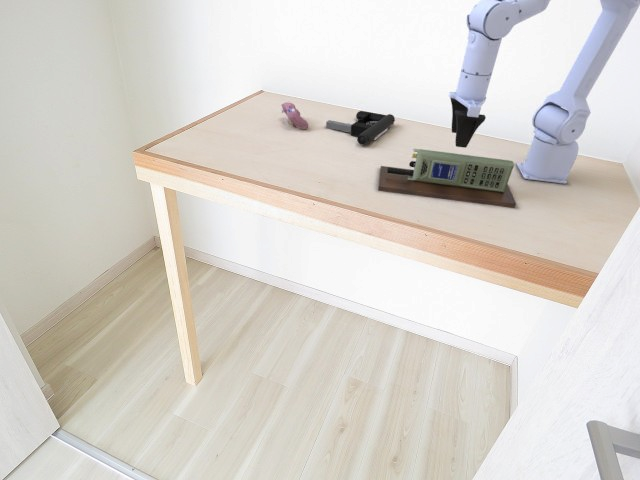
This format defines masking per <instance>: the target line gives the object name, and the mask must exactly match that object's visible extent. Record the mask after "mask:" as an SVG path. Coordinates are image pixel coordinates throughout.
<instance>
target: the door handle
mask: <svg viewBox="0 0 640 480" xmlns="http://www.w3.org/2000/svg"><path fill="white" fill-rule="evenodd" d="M355 117H356V119H357V121H355V122H354V123H352V124H351V123H347V122H341V121H335V120H331V119H329V120H326V122H325V127H326V129H331V130H336V131H340V132H344V133H345V132H346V133H350V136H351V137H356V138H357V139H356V141H357V143H358V144H359V145H364V146H365V145H367V144H368V143H370V142H372V141H373V140H374V141H376V140H377V139H379V138H380V137H381V136H382V135H384V134H385V133H386V132H387V131H388V128H389V127H391V126H392V125H394V124H395V122H396V118H395V116H394V115H393V114H391V113H389V114H384V113H383V114H382V113H377V112H370V111H366V110H359V111H358V112H357V113H356V114H355ZM368 123H369V124H368Z"/></svg>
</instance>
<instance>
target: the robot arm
mask: <svg viewBox="0 0 640 480" xmlns="http://www.w3.org/2000/svg"><path fill="white" fill-rule="evenodd" d="M550 1H551V0H479V1H478V2H476V4H475V5H474V6H473V7H472V9H471V11H470V13H469V14H467V15H466V27H467V30H468V34H467V44H466V48H465V51H464V55H463V59H462V65H461V69H460V73H459V77H458V81H457V84H456V90H455V91H449V92H448V97H449V99H450V104H451V114H452V115H451V118H452V119H451V133H453V134H455V147H457V148H465V149H467V147H468V146H469V144H470V142H471V140H472V138H473V136H474V134H475V133H476V131H477V130H478V128H480V126H481V125H482V124H483V123H484V122H485V121H486V115H485V114H480V112H481V109H482V106H483V105H484V104H485V102H486V100H487V93H488V89H489V86H490V81H491V79H492V75H493V72H494V68H495V64H496V61H497V58H498V54H499V50H500V47H501V44H502V40H503V39H504V38H505V37H507V36H508V35H509V34H510V32H511V31H512V30H513V28H514V27H515V26H516V25H518V24H520V23H522V22H525V21H526V20H529V19H530V18H533V17H534V16H536V15H538V14H541V13H543V12H544V11H545V10H546V9H547V8H548V6H549V4H550ZM599 2H600V6H601V12H600V14H599V16H598V18H597V20H596V22H595V24H594V26H593V27H592V29H591V30H590V33H589V34H588V36H587V38H586V40H585V42H584V44H583V46H582V48H581V49H580V51H579V53H578V55H577V57H576V59H575V61H574V62H573V64H572V66H571V68H570V70H569V72H568V74H567V75H566V77H565V79H564V81H563V83H562V85H561V87H560V88H559V90H557V91H554V92H553V93H551V94H548V95H547V96H546V97H545V99H544V101H543V103H542V104H541V105H540V106H539V107H538V108H537V109H536V111H535V112H534V113H533V116H532V119H531V123H532V126H533V128H534V129H533V134H534V136H533V138H532V141H531V143H530V146H529V149H528V151H527V154H526V157H525V158H524V161H523V162H517V163H516V166H517V168H518V169H519V171H520V173H521V175H522V177H523V179H525V180H529V181H537V182H538V181H539V182H547V183H548V182H549V183H556V184H564V185H566V184H567V183H568V181H567V179H568V178H569V175H570V174H571V170H572V168H573V166H574V165H575V162H576V160H577V157H578V154H579V144H578V141H577V140H578V139H579V138H580V137H581V136H582V135H583V133H584V131H585V129H586V124H587V120H588V119H589V117H590V115H591V108H590V106H589V104H588V101H587V98H588V96H589V95H590V92H591V91H592V89H593V87H594V86H595V84H596V82H597V81H598V79H599V77H600V75H601V73H602V72H603V71H604V68H605V66H606V65H607V63H608V62H609V60H610V58H611V56H612V55H613V53H614V52H615V50H616V48H617V46H618V44H619V42H620V41H621V39H622V37H623V36H624V34H625V32H626V30H627V29H628V27H629V26H630V23H631V21H632V20H633V18H634V17H635V15H636V13H637V11H638V9H639V7H640V0H599Z"/></svg>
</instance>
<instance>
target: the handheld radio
mask: <svg viewBox="0 0 640 480" xmlns="http://www.w3.org/2000/svg"><path fill="white" fill-rule="evenodd" d="M412 151H413V152H415V153H412V154H411V158H413V159H415V160H411V161H410V162H409V163H408V165H409V167H410V168H413V169H411V170H410V171H409V170H404V169H405V168H403V169H398V168H399V167H394V168H391V167H392V166H387V167H388V169H387V173H391V174H399V175H409V176H413V177H408V180H413V181H420V182H427V183H435V184H442V185H450V186H458V187H465V188H473V189H480V190H488V191H495V192H503V193H504V192H505V189H506V186H507V184H508V183H509V180H510V178H511V174H512V172H513V169H514V166H515V163H514V161H513V160H509V159H503V158H501V159H500V158H495V157H485V156H478V155H470V154H462V153H454V152H445V151H437V150H430V149H422V148H413V149H412Z"/></svg>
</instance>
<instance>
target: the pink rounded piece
mask: <svg viewBox="0 0 640 480" xmlns="http://www.w3.org/2000/svg"><path fill="white" fill-rule="evenodd" d="M280 112H281V113H282V114H285V115H286V117H287V119H288V121H289V125H292V127H297V128H299V129H301V130H308V128H309V123H308V121H307V120H306V119H304V118H303V117H302V116H301V111H299V109H297V108H296V105H295V104H294V103H293V102H290V101H289V100H288V101H287V102H286V101H285V102H284V103H283V102H282V104H281V110H280Z"/></svg>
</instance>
